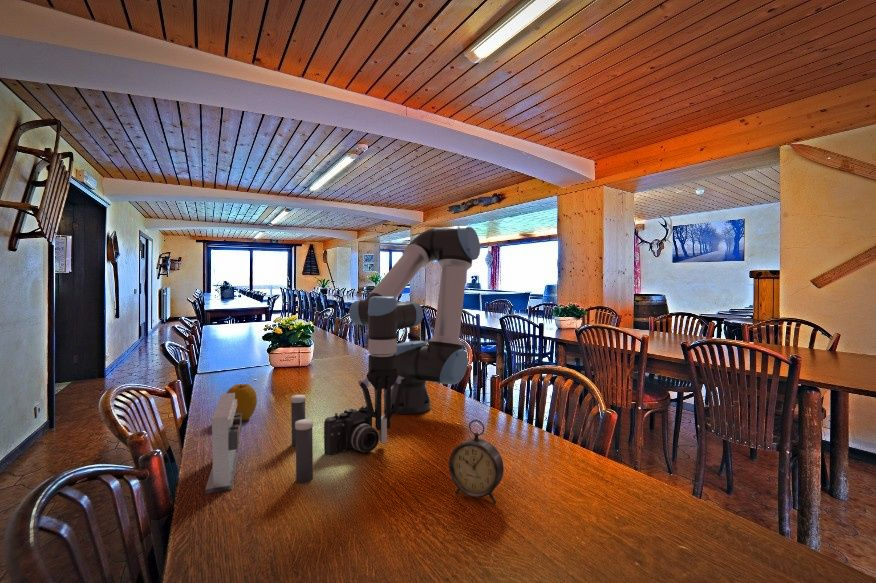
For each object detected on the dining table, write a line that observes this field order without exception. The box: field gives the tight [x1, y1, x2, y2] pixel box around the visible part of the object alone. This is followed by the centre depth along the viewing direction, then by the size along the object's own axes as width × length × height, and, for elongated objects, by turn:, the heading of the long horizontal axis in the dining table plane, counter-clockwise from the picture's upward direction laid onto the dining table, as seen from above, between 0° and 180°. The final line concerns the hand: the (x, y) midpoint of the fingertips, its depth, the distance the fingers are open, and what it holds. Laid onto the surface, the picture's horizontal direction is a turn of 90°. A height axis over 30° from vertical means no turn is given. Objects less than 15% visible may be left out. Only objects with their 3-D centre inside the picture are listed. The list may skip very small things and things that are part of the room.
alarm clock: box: [448, 419, 505, 505], centre depth 88 cm, size 11×5×16 cm, turn 62°
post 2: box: [295, 418, 314, 484], centre depth 95 cm, size 4×4×13 cm
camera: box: [323, 405, 380, 457], centre depth 111 cm, size 14×11×10 cm
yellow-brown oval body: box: [226, 383, 258, 422], centre depth 135 cm, size 10×10×12 cm
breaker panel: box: [204, 392, 243, 495], centre depth 99 cm, size 6×20×16 cm, turn 22°
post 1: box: [290, 394, 306, 448], centre depth 115 cm, size 4×4×13 cm
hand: (382, 441), depth 113 cm, fingers closed
